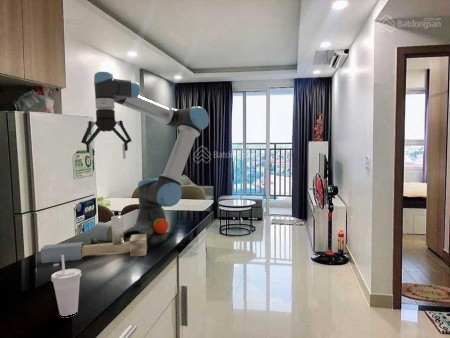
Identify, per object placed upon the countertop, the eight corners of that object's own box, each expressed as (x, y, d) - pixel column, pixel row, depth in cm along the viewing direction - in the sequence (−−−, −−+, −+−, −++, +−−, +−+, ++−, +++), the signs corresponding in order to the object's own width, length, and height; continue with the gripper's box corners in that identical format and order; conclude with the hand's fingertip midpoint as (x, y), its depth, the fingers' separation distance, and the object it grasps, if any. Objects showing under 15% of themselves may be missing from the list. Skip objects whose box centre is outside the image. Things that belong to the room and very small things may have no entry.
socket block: (130, 256, 120) (129, 241, 120) (132, 249, 129) (131, 234, 129) (146, 255, 121) (145, 239, 121) (147, 248, 130) (146, 233, 130)
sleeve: (41, 263, 117) (40, 248, 116) (46, 258, 122) (45, 244, 121) (81, 259, 119) (80, 245, 119) (84, 255, 124) (83, 241, 124)
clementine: (160, 236, 147) (159, 220, 147) (148, 235, 151) (147, 219, 150) (172, 232, 154) (171, 217, 154) (160, 231, 158) (159, 216, 157)
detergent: (148, 245, 133) (163, 229, 158) (145, 228, 133) (161, 214, 158) (116, 249, 134) (136, 232, 159) (113, 231, 134) (133, 217, 159)
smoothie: (60, 308, 82) (56, 251, 81) (87, 306, 82) (83, 250, 81) (48, 321, 75) (44, 260, 75) (78, 319, 76) (74, 258, 75)
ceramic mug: (108, 243, 139) (107, 225, 139) (92, 242, 142) (91, 224, 142) (124, 237, 149) (124, 220, 148) (109, 236, 152) (109, 219, 151)
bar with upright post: (72, 257, 119) (70, 220, 118) (75, 253, 123) (73, 218, 122) (139, 251, 123) (137, 216, 123) (139, 248, 127) (138, 214, 126)
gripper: (71, 108, 137) (75, 160, 138) (134, 108, 142) (137, 158, 143) (76, 110, 144) (79, 160, 146) (136, 110, 149) (138, 157, 150)
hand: (108, 159), depth 144 cm, fingers open, 13 cm apart
